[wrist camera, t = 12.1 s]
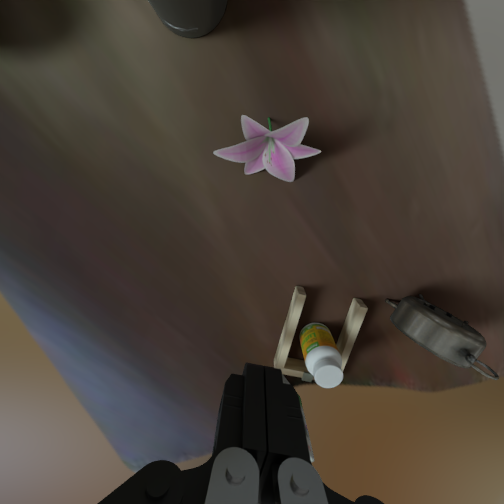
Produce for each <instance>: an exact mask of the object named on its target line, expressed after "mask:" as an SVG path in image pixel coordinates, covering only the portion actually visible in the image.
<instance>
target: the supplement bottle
mask: <svg viewBox="0 0 504 504" xmlns="http://www.w3.org/2000/svg"><path fill="white" fill-rule="evenodd" d="M299 339H300V344H301V348H302V352H303V356H304V360H305V364H306V367H307V369H308V371H309V372H310V373H311V374H312V375H313V376H314V379H315V381H316V383H317V384H318V385H319V386H321V387H323V388H333V387H336V386H337V385H339V384H340V383H341V381H342V380H343V372H342V369H341V366H342V358H341V355H340V353H339V350H338V348H337V346H336V344H335V342H334V339H333V337H332V335H331V332H330V330H329V329H328V328H327V327H326V326H325V325H323V324H321V323H310V324H308V325H306V326H305V327H303V329H302V330H301V332H300V335H299Z"/></svg>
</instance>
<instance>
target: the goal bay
mask: <svg viewBox="0 0 504 504" xmlns="http://www.w3.org/2000/svg"><path fill="white" fill-rule="evenodd" d="M305 299H306V293H305V291H304V288H303V287H300V286H296V287H295V291H294V294H293V297H292V301H291V304H290V308H289V311H288V314H287V318H286V321H285V324H284V328H283V331H282V335H281V338H280V341H279V345H278V348H277V351H276V355H275V358H274V367H275V368H278V369H281V371H282V374H285V375H290V376H295V377H301V378H302V381H307V382H311V381H312V380H315V379H314V376H313V375H312V374H311V373H310V372H309V371H308V369H307V367H306V364H305V361H304V360H299V359H294V358H289V357H287V356H288V353H289V350H290V346H291V343H292V340H293V337H294V334H295V331H296V327H297V324H298V321H299V318H300V315H301V311H302V308H303V305H304V302H305ZM367 310H368V308H367V306H366V305H365V304H364V303H363V301H362V300H361V299H358V298H353V301H352V304H351V306H350V309H349V312H348V314H347V317H346V320H345V322H344V325H343V328H342V330H341V333H340V336H339V338H338V341H337V344H336V346H337V348H338V350H339V353H340V355H341V358H342V366H341V369H342V372H343V370H344V367H345V365H346V362H347V360H348V357H349V355H350V352H351V350H352V347H353V345H354V342H355V340H356V337H357V335H358V332H359V330H360V327H361V325H362V322H363V320H364V317H365V315H366V312H367Z"/></svg>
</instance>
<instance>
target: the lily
mask: <svg viewBox="0 0 504 504" xmlns="http://www.w3.org/2000/svg"><path fill="white" fill-rule="evenodd" d="M268 122H269V130H268V129H266V128H265V127H263V126H262V125H260V124H259V123H257V122H256V121H254V120H252V119H251V118H249V117H247V116H245V115H242V117H241V124H242V129H243V133H244V136H245V139H246V140H247V141H245V142H243V143H240V144H237V145H234V146H231V147H227V148H223V149H219V150H216V151H214V152H213V153H214V154H215V155H217V156H219V157H221V158H224V159H227V160H230V161H234V162H240V163H245V162H246V164H245V169H244V173H245V174H253V173H256V172H259V171H261V170H263V169H266V170H267V171H268V172H269V173H270V174H272V175H273V176H275V177H277V178H279V179H281V180H284V181H288V182H292V181H293V180H294V177H295V164H294V160H293V159H301V158H306V157H310V156H313V155H316V154H319V153H320V152H321V150H318V149H315V148H312V147H308V146H305V145H302V144H300V143H301V141H302V140H303V138H304V135H305V133H306V130H307V127H308V123H309V119H308V118H302V119H299V120H297V121H295V122H293V123H291V124H288V125H286V126H284V127H282V128H280V129H278V130H275V131H272V127H271V121H270V117H268Z"/></svg>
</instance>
